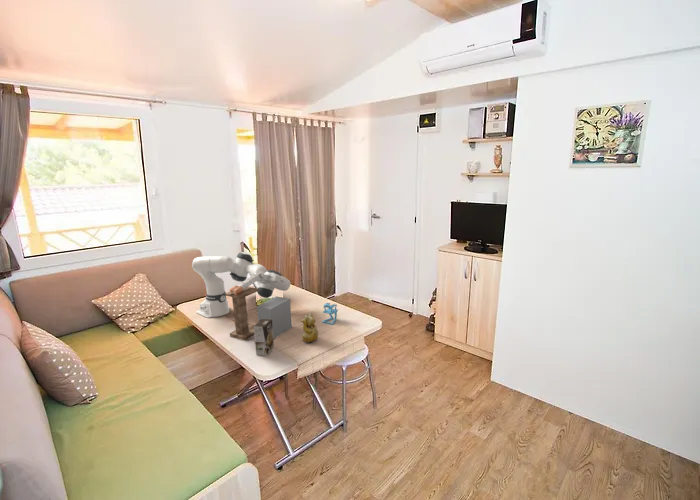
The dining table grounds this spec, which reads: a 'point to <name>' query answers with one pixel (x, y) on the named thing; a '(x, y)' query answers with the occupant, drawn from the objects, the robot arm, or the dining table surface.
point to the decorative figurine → (309, 329)
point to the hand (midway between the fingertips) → (258, 274)
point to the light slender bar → (245, 283)
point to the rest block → (276, 314)
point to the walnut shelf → (242, 314)
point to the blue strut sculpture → (330, 312)
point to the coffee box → (264, 337)
